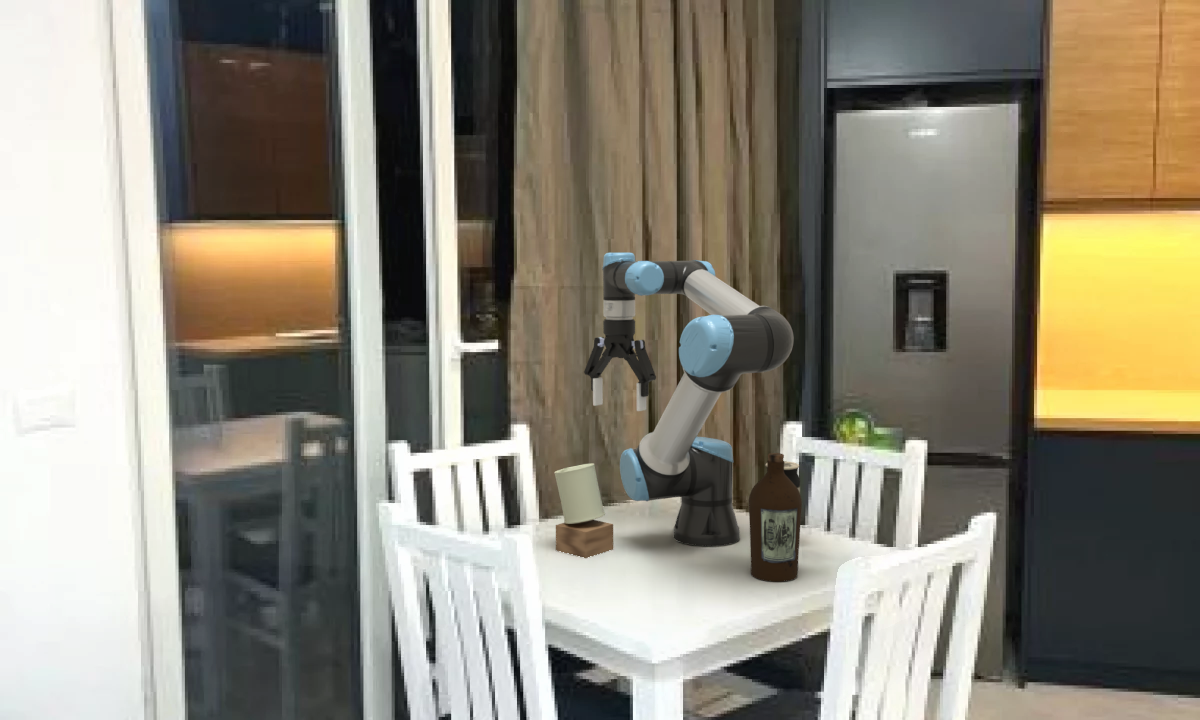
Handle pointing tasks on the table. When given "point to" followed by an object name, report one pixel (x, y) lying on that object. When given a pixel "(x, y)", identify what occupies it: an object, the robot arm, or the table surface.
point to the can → (579, 493)
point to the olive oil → (775, 524)
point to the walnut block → (584, 538)
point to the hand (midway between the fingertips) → (619, 407)
